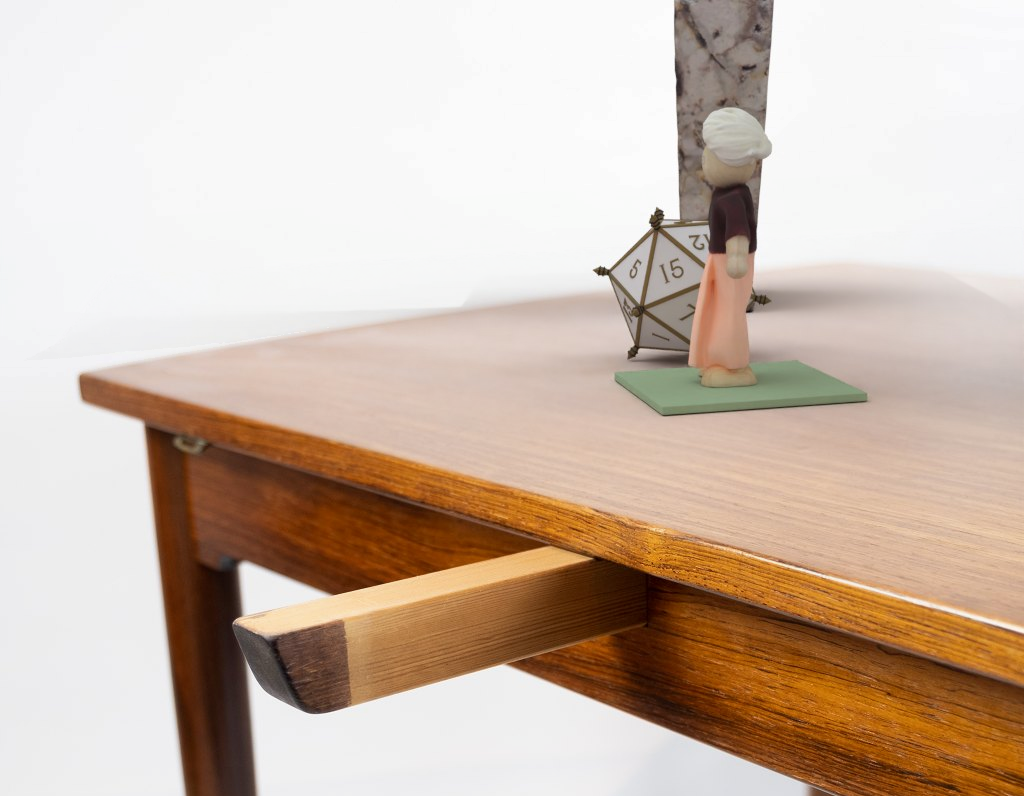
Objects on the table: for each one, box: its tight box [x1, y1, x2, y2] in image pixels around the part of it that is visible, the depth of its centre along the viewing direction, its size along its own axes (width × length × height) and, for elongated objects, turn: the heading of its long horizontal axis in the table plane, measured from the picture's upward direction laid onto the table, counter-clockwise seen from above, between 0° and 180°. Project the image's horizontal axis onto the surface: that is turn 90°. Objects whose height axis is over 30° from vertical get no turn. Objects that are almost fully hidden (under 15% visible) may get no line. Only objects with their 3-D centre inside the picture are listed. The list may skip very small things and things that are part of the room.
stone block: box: [673, 0, 775, 312], centre depth 103 cm, size 13×7×20 cm, turn 176°
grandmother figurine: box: [687, 108, 773, 388], centre depth 73 cm, size 8×4×13 cm, turn 5°
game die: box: [592, 206, 772, 361], centre depth 83 cm, size 9×8×10 cm
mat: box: [613, 359, 869, 416], centre depth 75 cm, size 10×10×1 cm
